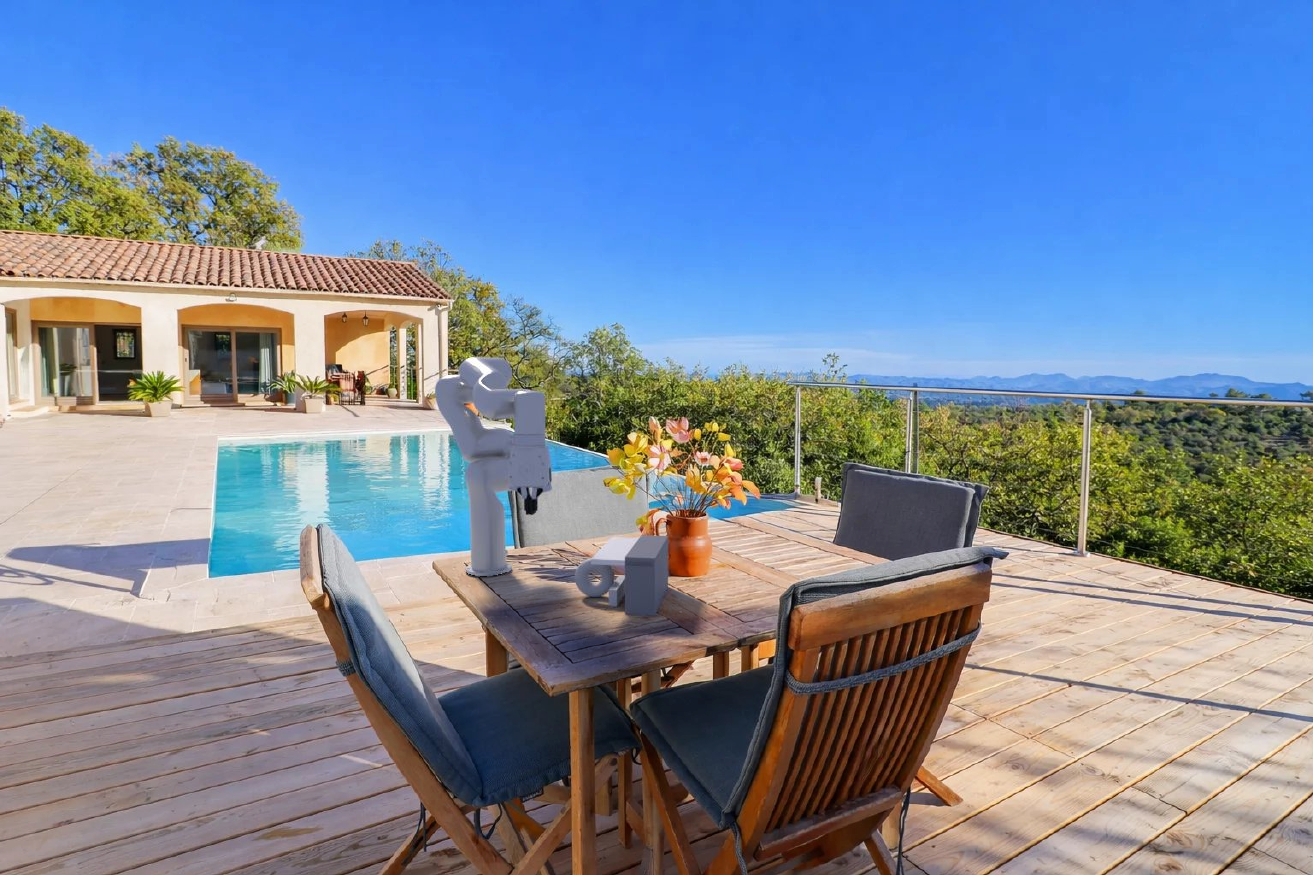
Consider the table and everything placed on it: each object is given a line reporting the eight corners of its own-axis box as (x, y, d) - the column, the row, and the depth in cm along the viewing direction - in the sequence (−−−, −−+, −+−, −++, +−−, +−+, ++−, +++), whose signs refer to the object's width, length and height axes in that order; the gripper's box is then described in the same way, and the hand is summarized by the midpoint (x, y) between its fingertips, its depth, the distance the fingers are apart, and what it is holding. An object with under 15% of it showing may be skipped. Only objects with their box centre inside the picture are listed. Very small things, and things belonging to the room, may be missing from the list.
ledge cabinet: (611, 584, 186) (611, 534, 185) (668, 586, 184) (668, 536, 183) (591, 612, 165) (590, 555, 163) (654, 615, 162) (654, 558, 161)
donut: (574, 598, 174) (573, 559, 173) (575, 594, 178) (575, 555, 177) (614, 599, 174) (614, 559, 173) (615, 594, 178) (615, 555, 177)
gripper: (495, 441, 172) (496, 515, 174) (554, 443, 170) (555, 518, 172) (506, 438, 179) (507, 509, 181) (563, 440, 177) (564, 511, 179)
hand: (530, 513), depth 177 cm, fingers closed
